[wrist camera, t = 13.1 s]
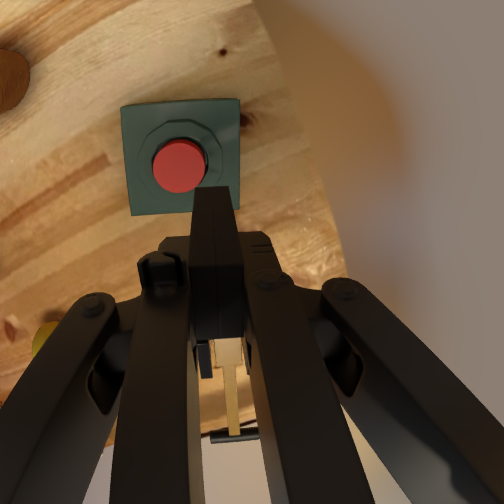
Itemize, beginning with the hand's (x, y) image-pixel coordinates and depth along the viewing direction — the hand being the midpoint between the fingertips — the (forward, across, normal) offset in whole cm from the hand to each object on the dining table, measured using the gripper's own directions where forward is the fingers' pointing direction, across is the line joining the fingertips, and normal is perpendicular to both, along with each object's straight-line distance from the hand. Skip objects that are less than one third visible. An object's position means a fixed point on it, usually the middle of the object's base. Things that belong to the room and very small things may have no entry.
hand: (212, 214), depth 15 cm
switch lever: (+5, +1, -20) cm, 20 cm away
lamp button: (+12, -2, -1) cm, 12 cm away
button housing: (+16, -2, 0) cm, 16 cm away
